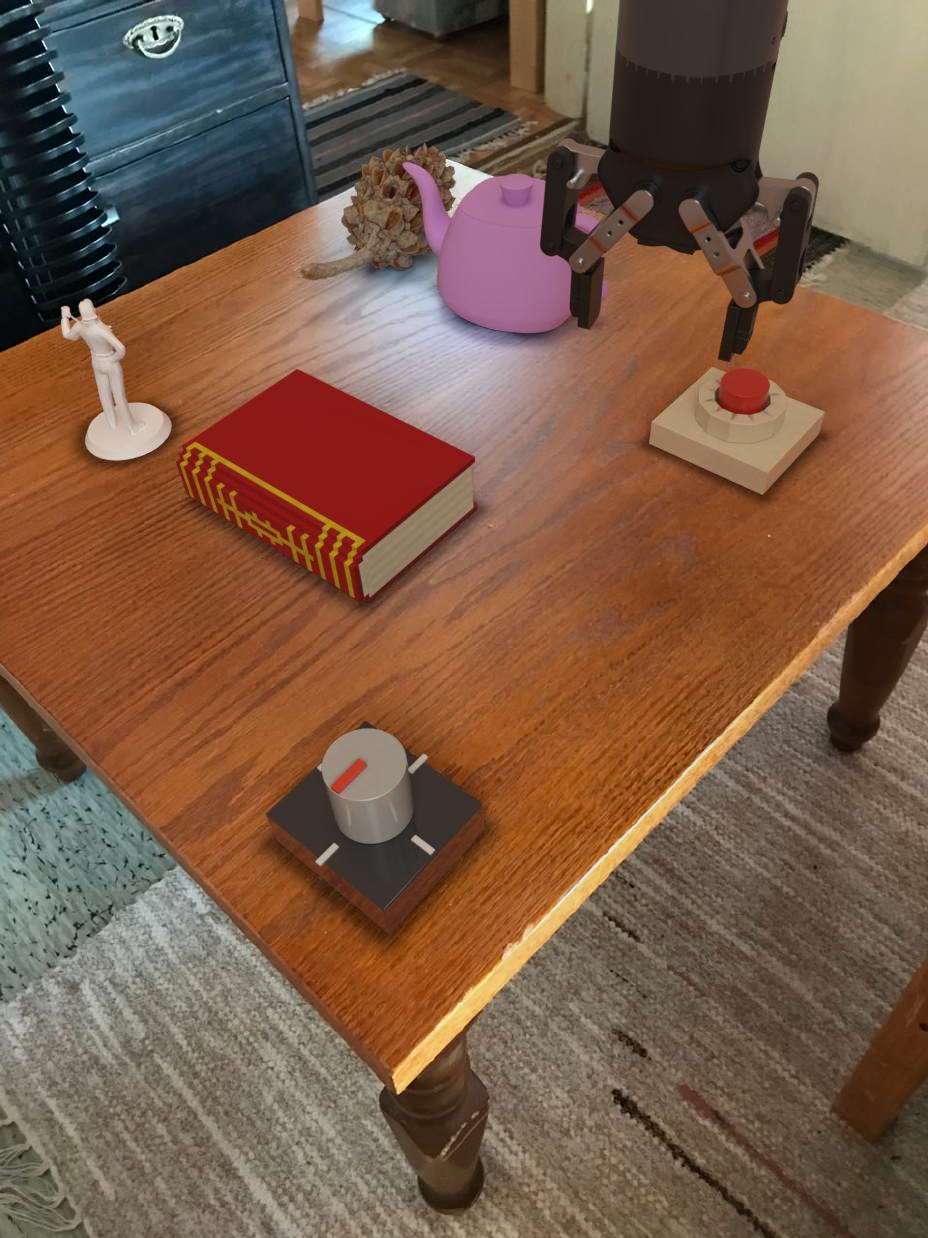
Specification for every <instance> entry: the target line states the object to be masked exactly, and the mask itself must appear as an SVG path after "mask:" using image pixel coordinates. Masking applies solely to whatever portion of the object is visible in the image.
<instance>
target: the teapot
mask: <svg viewBox="0 0 928 1238" xmlns="http://www.w3.org/2000/svg"><path fill="white" fill-rule="evenodd" d="M402 165H403V167H404V169H405V170H406V171H407V172H408V173H409V175H410V176H411V177H412V178H413V179H414V181H415V183H416V185H417V186H418V189H419V192H420V195H421V200H422V209H423V223H424V231H425V235H426V239H427V241H428V244H429V246H430V248H429V249H430V250H431V251H432V253H433V254H434V256H435V257H437V259H438V260H437V261H438V263H437V271H436V286H437V290H438V294H439V296H440V297H441V299H442V300H443V302H444V303H445V304H446V306H447V307H448V308H449V309H450V310H451V311H452V312H453V313H454V314H455V315H457V316H459V317H460V318H462V319H464V320H466V321H468V322H470V323H472V324H475V325H478V326H480V327H483V328H487V329H490V330H495V331H500V332H507V333H520V334H536V333H538V334H539V333H545V332H549V331H552V330H554V329H556V328H558V327H560V326H561V325H562V324H564V323H565V322H566V321H567V320H568V319H570V317H572V315H571V312H570V309H569V305H570V287H571V268H570V265H569V264H568V262H567V261H566V260H564V259H563V258H561V257H559V256H558V255H555V256H547V255H545V254H544V253H543V252H542V250H541V248H540V237H541V226H542V215H543V203H544V192H545V181H546V179H540V178H535V177H532V176H530V175H528V174H523V173H511V174H507V175H500V176H499V175H497V176H493V177H487V178H485V179H484V180H482V181H480V182H479V183H477V184H476V185H474V187H473V188H472V189H470V190H469V191H468V192H467V193H466V194H465V195H464V196H463V197H462V199H461V200H460V201H459V203H458V205H457V207H456V209H455V211H454V213H453V215H452V217H451V216H450V215H449V213H448V211H447V212H446V210H445V208H444V205H443V202H442V199H441V196H440V193H439V190H438V187H437V185H436V183H435V181H434V179H433V178H432V176H431V175H430V174H429V173H428V172H427V171H426V170H425V169H423V168H422V167H420V166H418V165H415V164H412V163H408V162H405V163H403V164H402ZM599 222H600V220H599V219H597V218H596V217H594V216H593V215H590V214H587V213H584V211H583V209H582V207H581V205H580V203H579V202H578V206H577V215H576V223H575V227H576V228H577V229H579V230H581V231H583V232H584V233H586V234H588V233H589V232H590V231H591V230H592V229H593V228H594V227H595V226H596V225H597V224H598V223H599ZM607 253H608V252H606V253H604V254H603V255H602V256H601V257H605V258H606V255H607ZM609 290H610V287H609V284H608V283H607V281H606V280H605V279H604V278H603V287H602V299H601V303H603V302H604V301H605V300H606V299H607V298H608V295H609V292H610V291H609Z"/></svg>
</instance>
